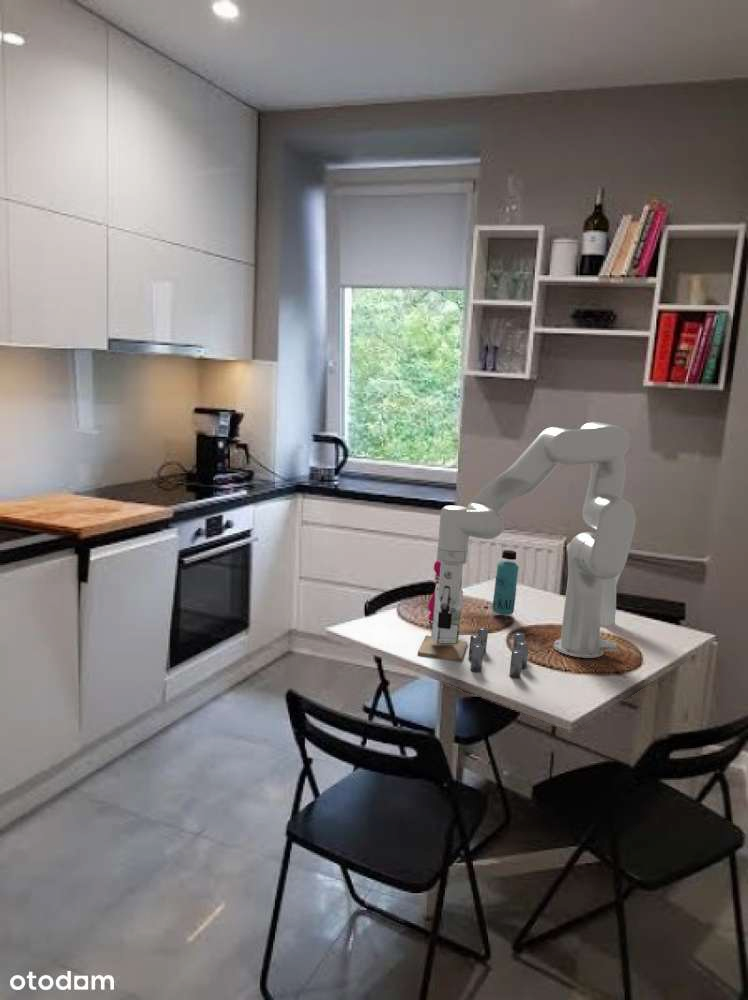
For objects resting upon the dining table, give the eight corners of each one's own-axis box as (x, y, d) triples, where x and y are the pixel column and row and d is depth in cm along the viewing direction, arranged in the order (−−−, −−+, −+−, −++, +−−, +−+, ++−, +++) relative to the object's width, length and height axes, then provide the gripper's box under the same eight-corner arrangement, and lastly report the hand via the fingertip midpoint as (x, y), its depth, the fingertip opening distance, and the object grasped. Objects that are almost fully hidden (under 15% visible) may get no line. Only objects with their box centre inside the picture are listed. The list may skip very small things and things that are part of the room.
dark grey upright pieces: (527, 656, 192) (529, 634, 191) (525, 680, 177) (528, 655, 176) (471, 648, 195) (473, 626, 194) (464, 670, 180) (467, 646, 179)
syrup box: (452, 636, 196) (457, 582, 193) (458, 645, 190) (463, 589, 187) (430, 636, 195) (435, 582, 192) (436, 645, 189) (441, 589, 186)
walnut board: (467, 644, 198) (467, 641, 198) (461, 661, 185) (461, 658, 185) (425, 638, 200) (426, 635, 200) (417, 654, 187) (417, 651, 187)
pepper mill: (443, 627, 210) (450, 557, 206) (422, 621, 214) (428, 552, 211) (457, 621, 215) (463, 553, 212) (435, 615, 220) (441, 548, 216)
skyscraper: (608, 629, 219) (620, 535, 214) (584, 622, 224) (596, 530, 219) (619, 623, 225) (631, 532, 220) (596, 617, 230) (607, 527, 225)
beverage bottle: (497, 611, 228) (504, 547, 225) (517, 616, 224) (524, 551, 221) (487, 616, 223) (494, 550, 220) (507, 621, 219) (515, 554, 216)
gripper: (463, 565, 179) (456, 636, 182) (470, 549, 196) (464, 615, 199) (432, 561, 181) (426, 632, 184) (442, 546, 198) (436, 611, 201)
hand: (446, 622), depth 191 cm, fingers closed on syrup box, 7 cm apart
